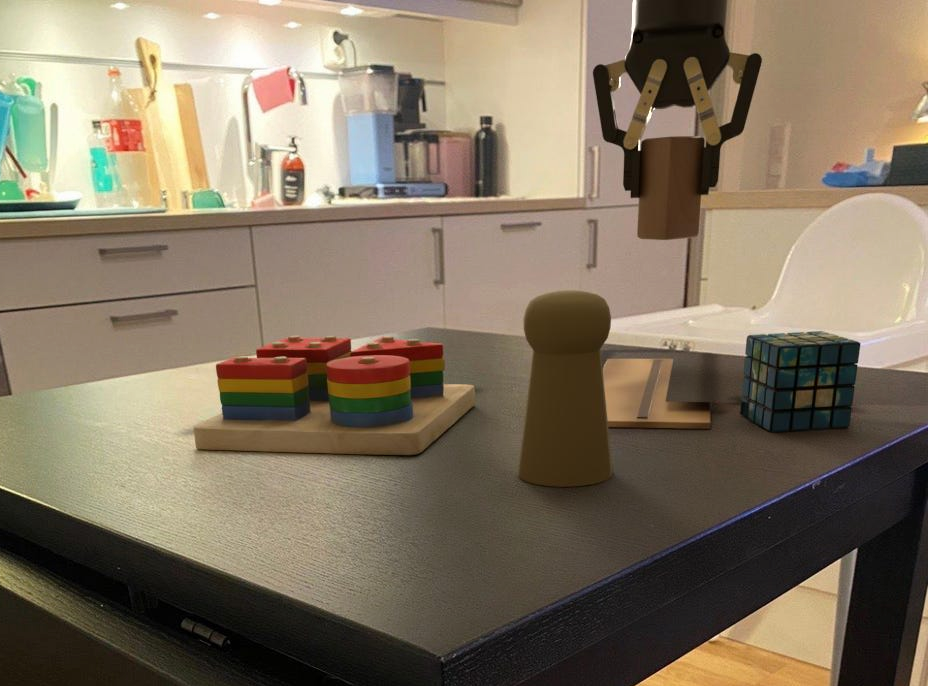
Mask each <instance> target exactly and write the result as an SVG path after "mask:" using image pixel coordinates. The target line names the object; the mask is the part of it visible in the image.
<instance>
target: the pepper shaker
mask: <svg viewBox="0 0 928 686" xmlns="http://www.w3.org/2000/svg"><path fill="white" fill-rule="evenodd" d="M524 310H525V311H524V315H523V319H522V321H523V332H524V337H525V340H526V341H527V343H528V345H529V346H530V348H531V349H532V355H531V363H530V371H529V377H528V378H529V380H528V387H527V395H526V403H525V411H524V419H523V428H522V435H521V444H520V451H519V459H518V467H517V475H518V478H519V479H521V480H523V481H524V482H525V483H530V484H534V485H539V486H545V487H557V488H559V487H560V488H561V487H563V488H565V487H566V488H567V487H568V488H569V487H582V486H590V485H595V484H599V483H603V482H605V481H607V480H609V479H610V478H612V476H613V472H614V470H613V463H612V461H613V459H612V449H611V440H610V432H609V431H610V429H609V427H608V419H607V409H606V399H605V389H604V379H603V361H602V359H603V358H602V351H601V349H602V347H603V346H604V344H605V342H607V340H608V339H609V335H610V331H611V326H612V315H611V310H610V306H609V304H608V303H607V300H606V299H605V298H603V297H602V296H601V295H599V294H597V293H593V292H589V291H584V290H573V289H571V290H569V289H568V290H555V291H551V292H547V293H543V294H540V295H537V296H535V297H534V298H532V299H531V300H530V301H529V302H528V304H527V306H526V307H525V309H524Z"/></svg>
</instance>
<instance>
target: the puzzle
mask: <svg viewBox="0 0 928 686" xmlns="http://www.w3.org/2000/svg"><path fill="white" fill-rule="evenodd" d="M860 350H861V342H859V341H857V340H855V339H849V338H847V337H844V336H839V335H836V334H833V333H829V332H826V331H823V330H817V331H806V332H804V331H800V332H799V331H798V332H797V331H795V332H787V333H784V332H782V333H781V332H780V333H768V334H765V333H761V334H748V335H747V336H746V341H745V357H744V365H743V378H742V386H741V395H742V396H741V401H742V402H740V409H739V414H740V415H741V416H742V417H744V418H745V419H747V420H750V422H752V423H754V424H756V425H758V426H760V427H761V428H763V429H764V430H766V431H769V432H770V433H783V432H788V431H791V432H797V431H799V432H800V431H808V430H812V431H814V430H815V431H817V430H828V429H846V428H849V427H850V424H851V419H852V418H851V417H852V416H851V415H852V411H853V407H852V406H853V403H854V395H855V387H856V386H855V385H856V380H857V374H858V373H857V372H858V363H859V358H860Z"/></svg>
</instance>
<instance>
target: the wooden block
mask: <svg viewBox="0 0 928 686" xmlns="http://www.w3.org/2000/svg"><path fill="white" fill-rule="evenodd" d="M705 144H706V139H705V138H704V137H703V136H701V135H684V136H683V135H680V136H679V135H678V136H677V135H676V136H662V137H651V138H650V137H649V138H645V139H643V140H641V142H640V151H641V164H640V188H639V198H638V203H637V204H638V205H637V206H638V208H637V227H636V230H637V231H636V235H637V238H639V239H641V240H655V241H671V240H682V239H683V240H684V239H685V240H686V239H694V238H696V237H697V236H699V233H700V217H701V205H702V204H701V200H702V195H701V179H702V164H703V149H704V147H705Z"/></svg>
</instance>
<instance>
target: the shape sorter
mask: <svg viewBox="0 0 928 686" xmlns="http://www.w3.org/2000/svg"><path fill="white" fill-rule="evenodd" d="M255 354H256V355H255V356H256V357H249V356H246V355H238V356H235V357H231V358H228V359H226V360H224V361H221V362H218V363H216V364H215V372H216V377H217V387H218V391H219V401H220V405H221V413H220V414H218V415H215V416H213V417H211V418H209V419H207V420H204V421H203V422H200V423H198V424H196V425H195V426H194V427H193V436H194V444H195V448H196V449H198V450H209V451H210V450H211V451H241V452H270V453H275V452H276V453H305V454H306V453H307V454H340V455H341V454H342V455H375V456H378V455H380V456H381V455H383V456H413V455H418V454H421V453H422V452H424V451H425V450H426V449H427V448H428V447H429V446H430V445H431V444H432V443H434V442H435V441H436V440H437V439H438V438H439V437H440V436H441V435H443V434H444V432H446V431H447V430H448V429H450V428H451V427H452V425H454V424H455V423H456V422H457V421H458V420H459V419H460V418H461V417H463V416H464V415H465V414H466V413H467V412H469V410H470V409H472V407H474V406H475V405H476V394H475V393H476V392H475V386H474V385H473V384H466V383H465V384H464V383H463V384H456V383H455V384H452V383H451V384H448V383H447V384H445V383H444V371H445V370H446V361H445V360H446V359H445V358H444V357H443V356H444V344H443V343H437V342H425V341H421V339H419V338H418V339H417V338H411V339H406V340H405V339H398V338H394V336H393V335H383V336H382V337H379V338H377V339H375V340H372V341H370V342H368V343H366V344H364V345H362V346H360V347H358V348H356V349H354V350H352V339H351V338H350V337H337V336H336V335H325V336H324V337H301V336H300V335H289V336H287V337H285V338H282V339H280V340H277V341H274V342H272V343H269V344H266V345H264V346H261V347H259V348H256V350H255Z"/></svg>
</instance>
